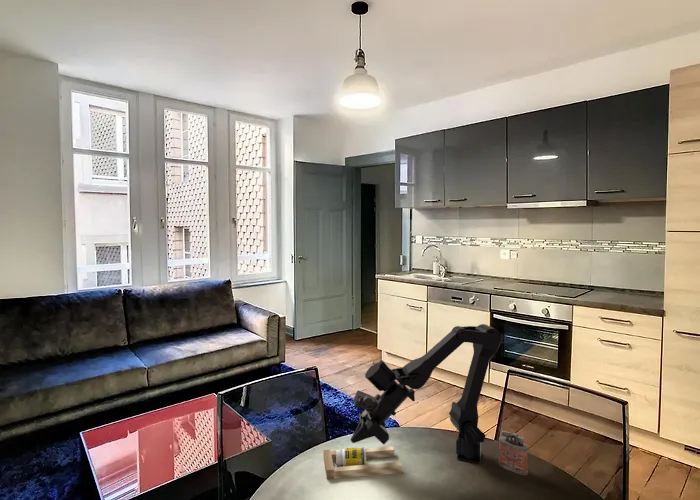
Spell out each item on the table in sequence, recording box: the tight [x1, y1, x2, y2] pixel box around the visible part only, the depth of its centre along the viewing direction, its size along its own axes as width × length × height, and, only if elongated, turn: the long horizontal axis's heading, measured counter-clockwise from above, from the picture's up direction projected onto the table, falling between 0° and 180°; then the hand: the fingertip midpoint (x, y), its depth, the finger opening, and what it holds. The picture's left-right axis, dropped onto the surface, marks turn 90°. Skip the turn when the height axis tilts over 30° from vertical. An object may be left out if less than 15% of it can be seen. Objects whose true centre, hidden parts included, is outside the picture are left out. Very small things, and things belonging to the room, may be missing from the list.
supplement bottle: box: [335, 447, 367, 467], centre depth 118 cm, size 5×5×8 cm
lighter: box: [498, 430, 529, 476], centre depth 116 cm, size 8×3×10 cm, turn 47°
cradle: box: [323, 445, 403, 480], centre depth 118 cm, size 21×11×2 cm, turn 98°
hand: (351, 441), depth 117 cm, fingers closed
